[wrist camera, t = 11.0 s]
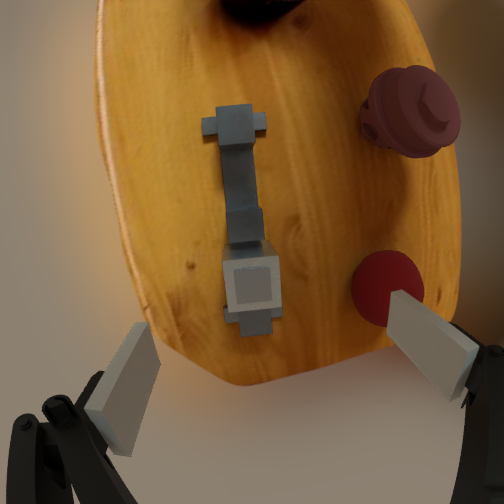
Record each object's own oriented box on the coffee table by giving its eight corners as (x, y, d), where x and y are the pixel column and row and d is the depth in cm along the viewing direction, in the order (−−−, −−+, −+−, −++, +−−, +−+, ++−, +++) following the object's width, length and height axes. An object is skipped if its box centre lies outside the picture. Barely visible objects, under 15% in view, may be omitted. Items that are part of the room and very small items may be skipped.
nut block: (224, 244, 31) (222, 261, 24) (268, 240, 31) (279, 256, 24) (229, 286, 32) (228, 313, 25) (271, 282, 32) (282, 308, 25)
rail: (202, 119, 28) (197, 109, 24) (264, 114, 28) (269, 102, 24) (225, 320, 34) (225, 338, 29) (281, 313, 34) (288, 331, 30)
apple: (410, 273, 34) (454, 298, 25) (368, 321, 36) (404, 359, 26) (373, 229, 32) (420, 246, 23) (327, 283, 34) (360, 318, 24)
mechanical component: (420, 140, 30) (372, 176, 31) (381, 77, 28) (327, 107, 29) (484, 130, 18) (436, 175, 19) (435, 44, 16) (375, 71, 17)
